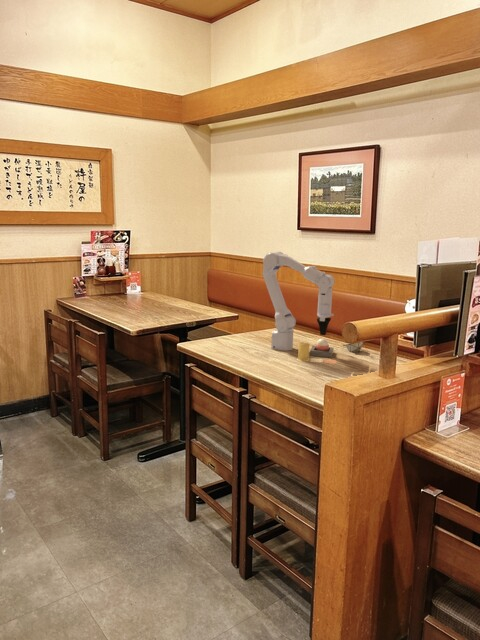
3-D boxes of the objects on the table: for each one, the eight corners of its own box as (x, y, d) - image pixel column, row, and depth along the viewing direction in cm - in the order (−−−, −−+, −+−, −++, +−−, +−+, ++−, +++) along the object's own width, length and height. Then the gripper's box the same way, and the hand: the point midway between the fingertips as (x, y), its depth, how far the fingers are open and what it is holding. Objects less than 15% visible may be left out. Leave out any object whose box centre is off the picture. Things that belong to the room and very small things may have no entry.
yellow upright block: (297, 360, 207) (297, 344, 205) (298, 357, 211) (299, 342, 210) (307, 361, 206) (308, 345, 204) (309, 358, 210) (310, 343, 208)
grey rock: (356, 361, 224) (365, 347, 216) (339, 353, 225) (347, 339, 217) (360, 348, 230) (369, 334, 223) (343, 340, 231) (351, 326, 223)
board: (295, 364, 204) (295, 361, 204) (302, 350, 225) (303, 348, 225) (337, 368, 200) (337, 365, 200) (341, 354, 221) (341, 352, 221)
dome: (314, 351, 215) (315, 339, 214) (316, 348, 220) (316, 336, 219) (327, 352, 213) (328, 340, 212) (329, 349, 219) (329, 337, 218)
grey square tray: (310, 356, 214) (310, 350, 213) (312, 350, 222) (312, 345, 222) (331, 358, 212) (331, 352, 211) (333, 352, 220) (333, 347, 220)
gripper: (332, 306, 205) (330, 339, 207) (335, 301, 218) (333, 332, 221) (315, 305, 206) (313, 337, 209) (319, 300, 220) (317, 330, 223)
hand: (323, 334), depth 215 cm, fingers closed
